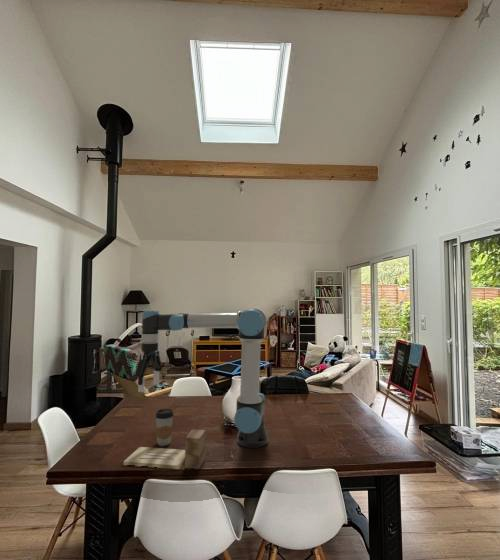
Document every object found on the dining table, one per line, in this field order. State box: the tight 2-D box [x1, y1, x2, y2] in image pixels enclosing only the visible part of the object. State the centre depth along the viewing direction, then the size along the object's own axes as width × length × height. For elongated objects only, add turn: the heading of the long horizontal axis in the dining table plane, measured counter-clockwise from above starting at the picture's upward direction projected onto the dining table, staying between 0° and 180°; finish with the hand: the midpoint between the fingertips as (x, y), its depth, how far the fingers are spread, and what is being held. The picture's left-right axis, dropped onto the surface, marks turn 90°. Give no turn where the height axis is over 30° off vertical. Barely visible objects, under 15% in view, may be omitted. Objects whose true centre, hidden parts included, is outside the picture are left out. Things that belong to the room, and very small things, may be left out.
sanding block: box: [184, 429, 207, 470], centre depth 137 cm, size 6×9×12 cm, turn 172°
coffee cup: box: [155, 408, 174, 447], centre depth 157 cm, size 8×8×15 cm
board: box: [123, 446, 185, 470], centre depth 140 cm, size 24×14×2 cm, turn 82°
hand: (149, 388), depth 153 cm, fingers open, 13 cm apart
